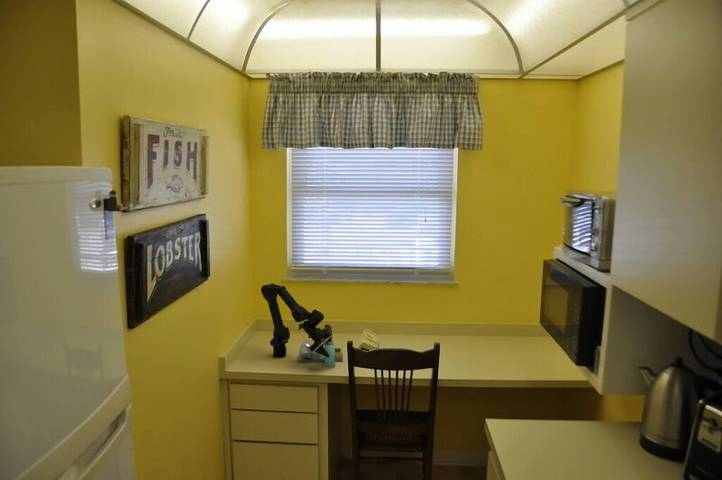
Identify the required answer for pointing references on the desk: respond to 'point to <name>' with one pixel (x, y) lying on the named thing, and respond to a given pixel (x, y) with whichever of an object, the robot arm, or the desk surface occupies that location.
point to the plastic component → (368, 340)
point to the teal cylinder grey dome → (331, 351)
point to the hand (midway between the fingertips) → (332, 353)
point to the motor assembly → (315, 354)
